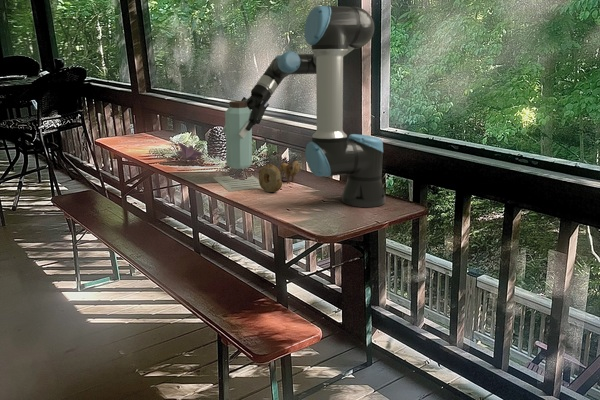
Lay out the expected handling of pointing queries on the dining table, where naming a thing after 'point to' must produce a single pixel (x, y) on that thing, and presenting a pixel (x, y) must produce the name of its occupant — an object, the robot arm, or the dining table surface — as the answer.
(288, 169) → the lion figurine
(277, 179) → the stone disc
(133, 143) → the dining table surface
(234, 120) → the water bottle
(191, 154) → the lily
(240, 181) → the letter
